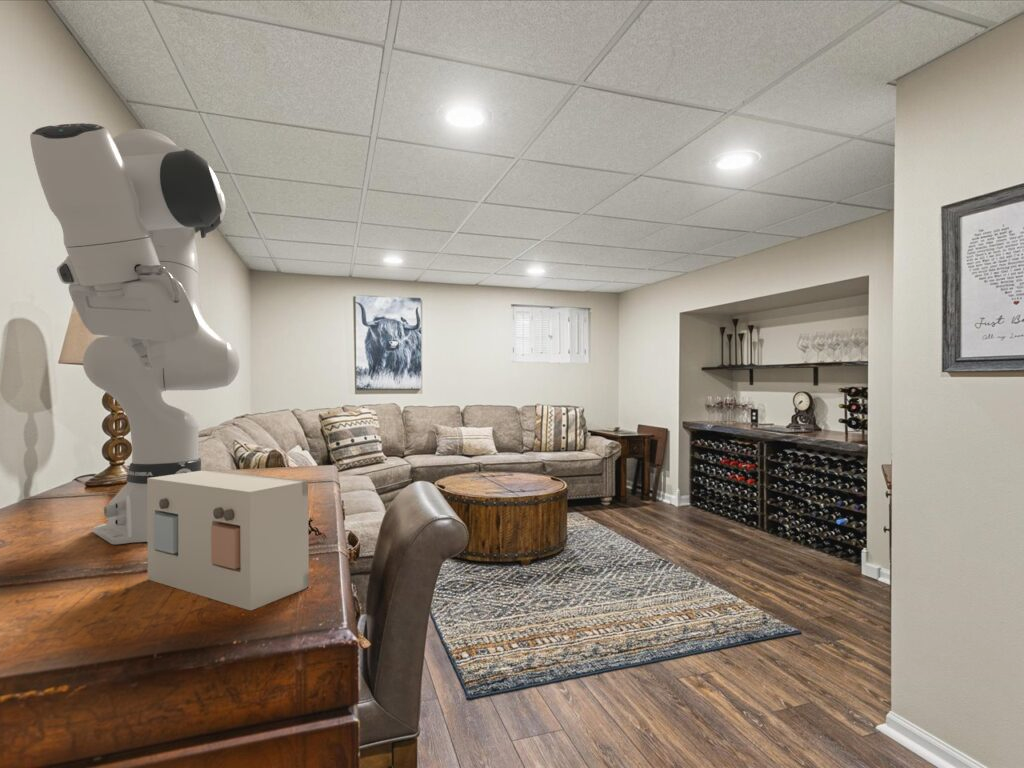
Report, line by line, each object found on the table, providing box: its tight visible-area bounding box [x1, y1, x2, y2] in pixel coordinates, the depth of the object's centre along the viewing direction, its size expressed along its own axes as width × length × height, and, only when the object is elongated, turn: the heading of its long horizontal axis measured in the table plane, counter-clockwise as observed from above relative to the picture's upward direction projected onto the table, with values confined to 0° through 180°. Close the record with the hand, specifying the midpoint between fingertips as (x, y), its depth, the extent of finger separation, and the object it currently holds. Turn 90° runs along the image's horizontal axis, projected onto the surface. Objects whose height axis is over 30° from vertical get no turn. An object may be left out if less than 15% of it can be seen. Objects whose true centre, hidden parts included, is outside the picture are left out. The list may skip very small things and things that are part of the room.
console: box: [147, 469, 310, 611], centre depth 77 cm, size 24×10×15 cm, turn 61°
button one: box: [153, 512, 223, 553], centre depth 80 cm, size 5×8×5 cm, turn 151°
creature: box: [308, 517, 328, 541], centre depth 98 cm, size 8×5×8 cm
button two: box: [211, 523, 241, 569], centre depth 73 cm, size 5×8×5 cm, turn 151°
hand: (155, 367), depth 72 cm, fingers closed
